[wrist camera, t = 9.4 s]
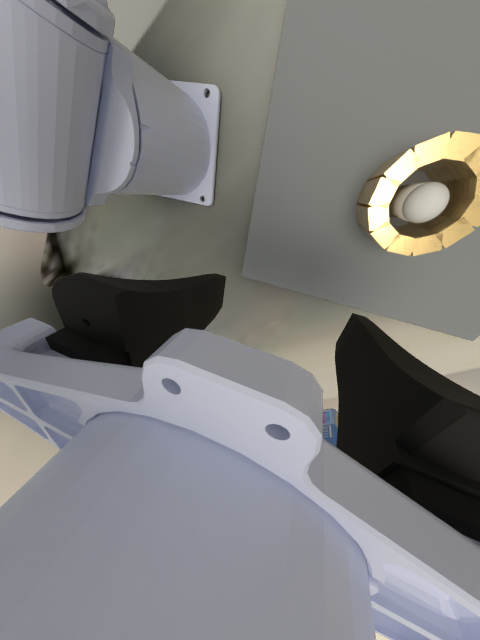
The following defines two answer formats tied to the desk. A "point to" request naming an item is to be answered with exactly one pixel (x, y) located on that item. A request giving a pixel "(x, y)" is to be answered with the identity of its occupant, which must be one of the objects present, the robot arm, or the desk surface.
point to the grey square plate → (366, 155)
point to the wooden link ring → (440, 166)
